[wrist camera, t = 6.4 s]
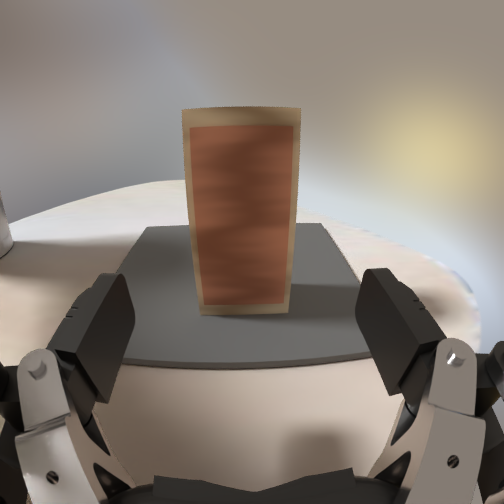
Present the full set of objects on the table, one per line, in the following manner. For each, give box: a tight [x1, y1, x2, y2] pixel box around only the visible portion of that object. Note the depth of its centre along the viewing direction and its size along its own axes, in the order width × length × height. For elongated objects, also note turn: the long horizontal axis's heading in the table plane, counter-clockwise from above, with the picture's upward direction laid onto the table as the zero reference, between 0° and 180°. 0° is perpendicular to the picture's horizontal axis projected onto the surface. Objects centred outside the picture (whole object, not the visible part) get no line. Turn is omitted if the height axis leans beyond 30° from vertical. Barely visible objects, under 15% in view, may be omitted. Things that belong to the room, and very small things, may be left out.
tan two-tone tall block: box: [182, 107, 301, 315], centre depth 17 cm, size 6×4×13 cm, turn 92°
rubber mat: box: [116, 223, 372, 369], centre depth 24 cm, size 21×20×1 cm
